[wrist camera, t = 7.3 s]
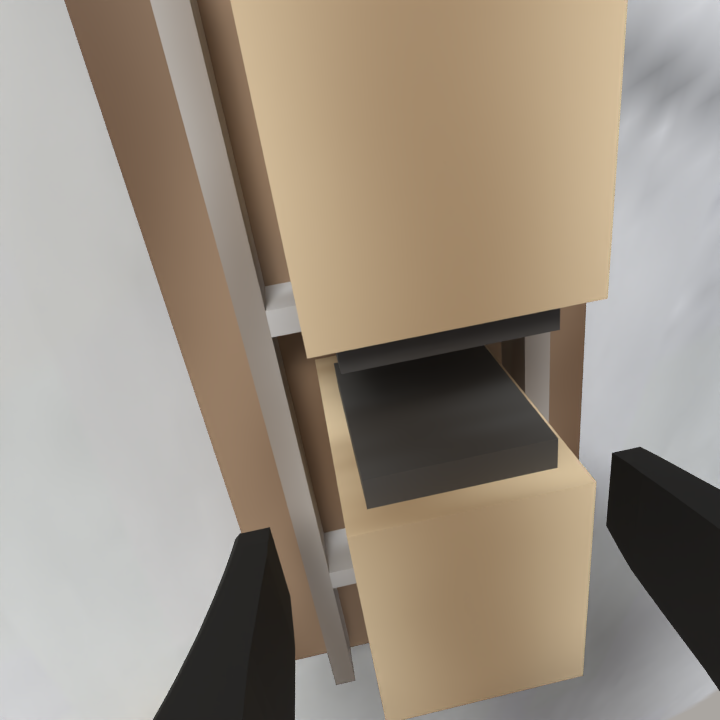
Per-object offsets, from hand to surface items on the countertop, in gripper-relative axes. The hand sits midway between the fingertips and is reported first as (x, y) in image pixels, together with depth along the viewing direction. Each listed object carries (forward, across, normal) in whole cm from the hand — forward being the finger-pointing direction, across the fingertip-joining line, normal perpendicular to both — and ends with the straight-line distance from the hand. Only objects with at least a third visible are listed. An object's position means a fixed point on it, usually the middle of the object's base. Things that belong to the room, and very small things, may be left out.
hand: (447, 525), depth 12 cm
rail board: (+5, 0, -2) cm, 5 cm away
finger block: (+4, 0, 0) cm, 4 cm away
